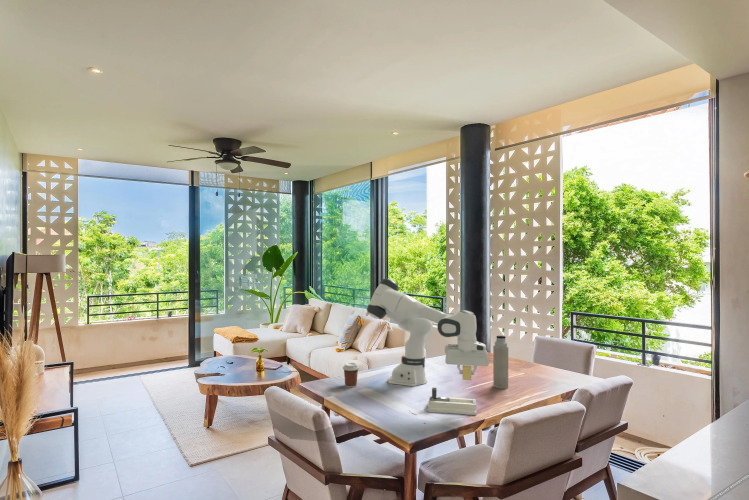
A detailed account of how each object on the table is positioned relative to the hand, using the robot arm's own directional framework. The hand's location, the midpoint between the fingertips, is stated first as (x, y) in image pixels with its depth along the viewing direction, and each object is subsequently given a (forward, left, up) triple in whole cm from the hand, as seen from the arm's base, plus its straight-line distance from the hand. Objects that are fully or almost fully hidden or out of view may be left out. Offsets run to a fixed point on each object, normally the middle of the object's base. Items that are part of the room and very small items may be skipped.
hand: (466, 374), depth 208 cm
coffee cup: (-63, +26, -17) cm, 70 cm away
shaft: (-13, 0, -15) cm, 20 cm away
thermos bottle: (+19, +41, -17) cm, 48 cm away
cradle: (-7, 0, -17) cm, 18 cm away
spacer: (0, 0, -2) cm, 2 cm away
